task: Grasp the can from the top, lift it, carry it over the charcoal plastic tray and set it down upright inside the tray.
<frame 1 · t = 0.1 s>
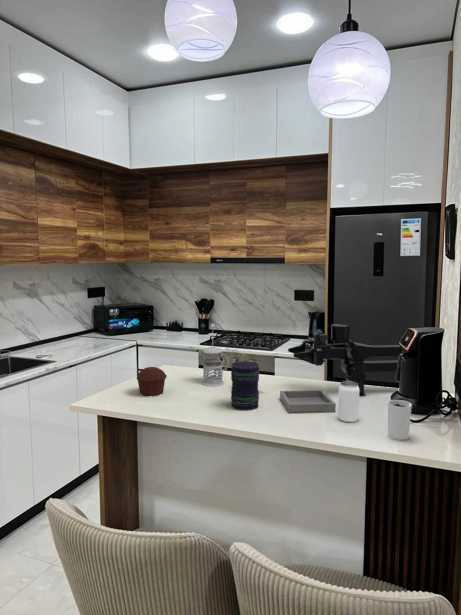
hand: (290, 352, 175), 17 cm above the countertop, tool horizontal, fingers open, 9 cm apart
condiment: (249, 392, 182), on the countertop
white cylindrical container: (398, 436, 137), on the countertop
french press: (214, 383, 193), on the countertop
can: (348, 419, 151), on the countertop
muffin: (151, 393, 179), on the countertop
storage jar: (244, 406, 164), on the countertop
tray: (306, 405, 165), on the countertop
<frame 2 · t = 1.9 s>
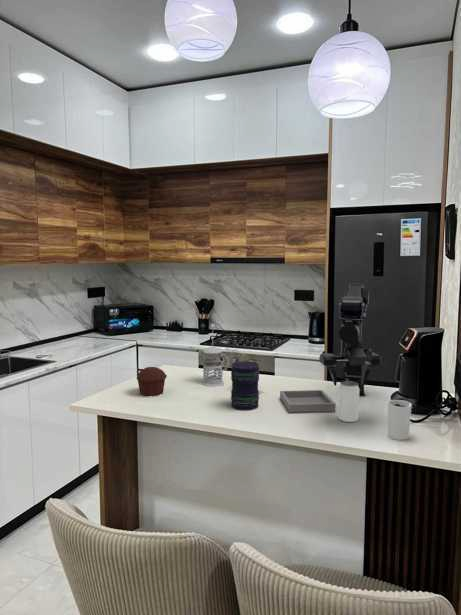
hand: (349, 385, 150), 11 cm above the countertop, tool pointing down, fingers open, 9 cm apart
nothing on the countertop moved.
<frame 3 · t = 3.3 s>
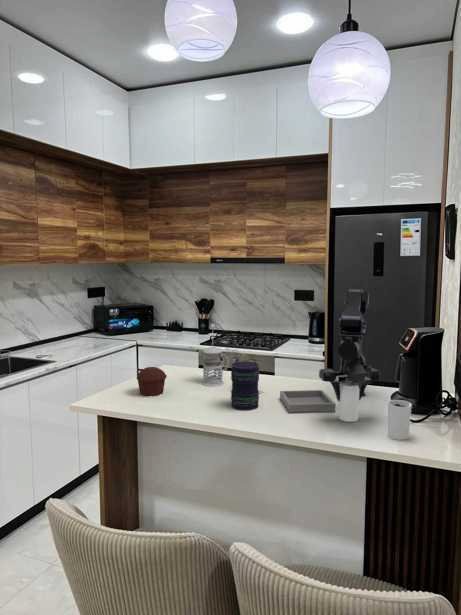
hand: (348, 400, 151), 6 cm above the countertop, tool pointing down, fingers closed on can, 6 cm apart
can: (348, 419, 151), on the countertop, touching gripper
everything else where it was.
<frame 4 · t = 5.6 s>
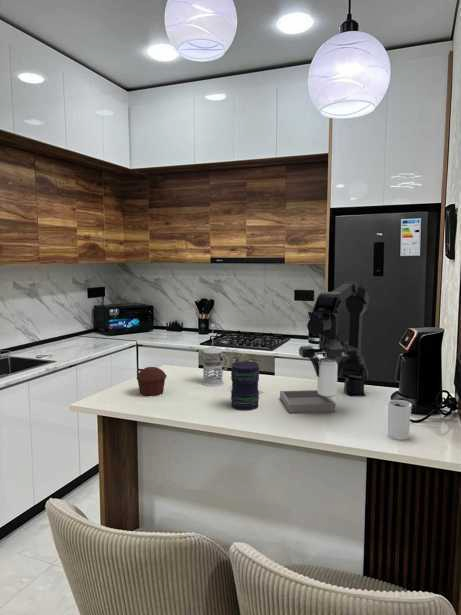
hand: (327, 376, 157), 12 cm above the countertop, tool pointing down, fingers closed on can, 6 cm apart
can: (327, 394, 158), point 6 cm above the countertop, touching gripper
everything else where it was.
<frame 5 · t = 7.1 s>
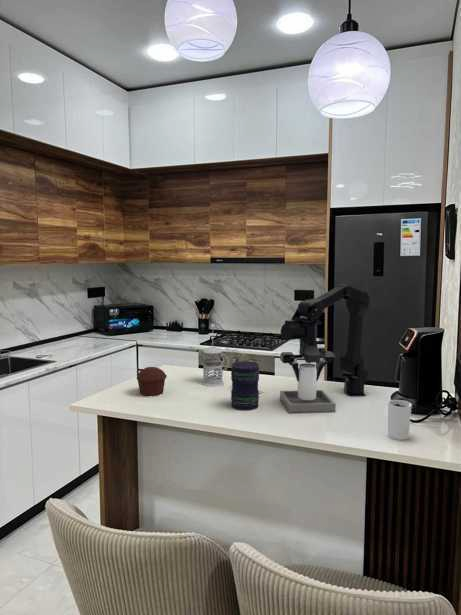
hand: (307, 380, 164), 9 cm above the countertop, tool pointing down, fingers closed on can, 6 cm apart
can: (306, 398, 165), point 2 cm above the countertop, touching gripper
everything else where it was.
when the fingers open (8 cm above the countertop, at t = 8.1 s): can drops 1 cm, resting on tray.
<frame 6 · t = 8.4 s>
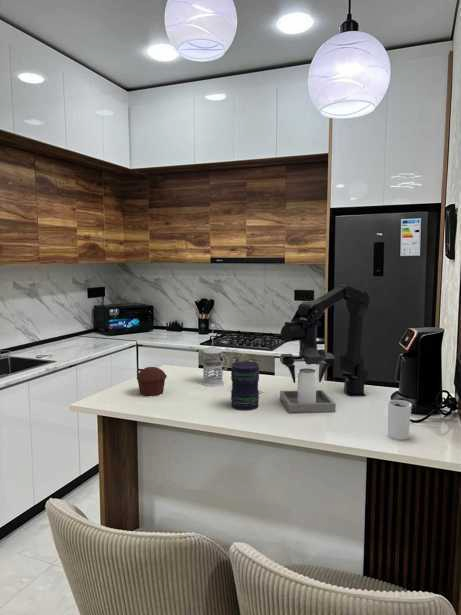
hand: (307, 382, 164), 8 cm above the countertop, tool pointing down, fingers open, 9 cm apart
can: (306, 403, 165), point 1 cm above the countertop, touching tray
everything else where it was.
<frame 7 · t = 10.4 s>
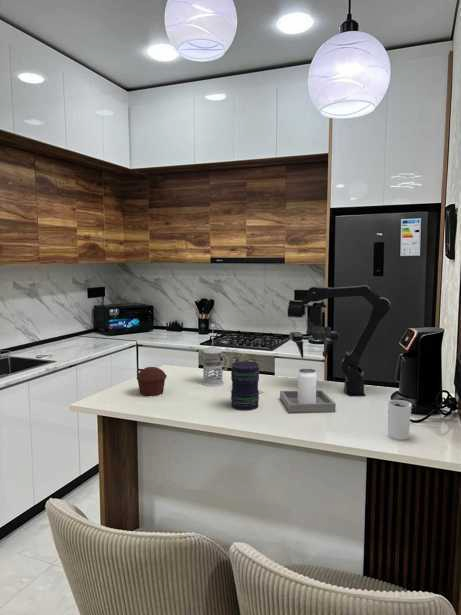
hand: (313, 357, 183), 13 cm above the countertop, tool pointing down, fingers open, 9 cm apart
nothing on the countertop moved.
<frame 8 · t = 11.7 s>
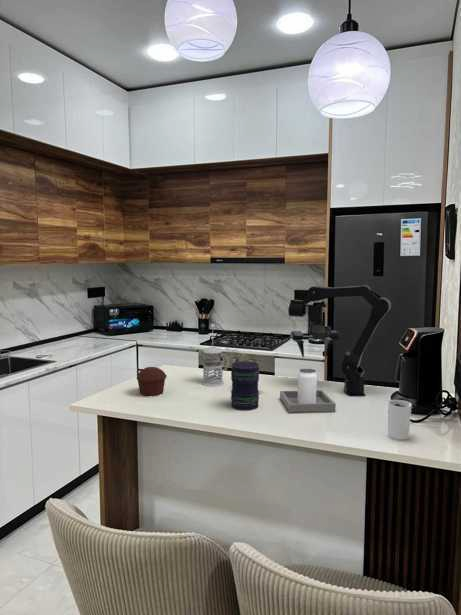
hand: (314, 356, 184), 13 cm above the countertop, tool pointing down, fingers open, 9 cm apart
nothing on the countertop moved.
at the end: can inside the target area on the tray (0.1 cm from its centre), point 0.4 cm above the tray's base; can tilted 0°; the gripper is holding nothing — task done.
